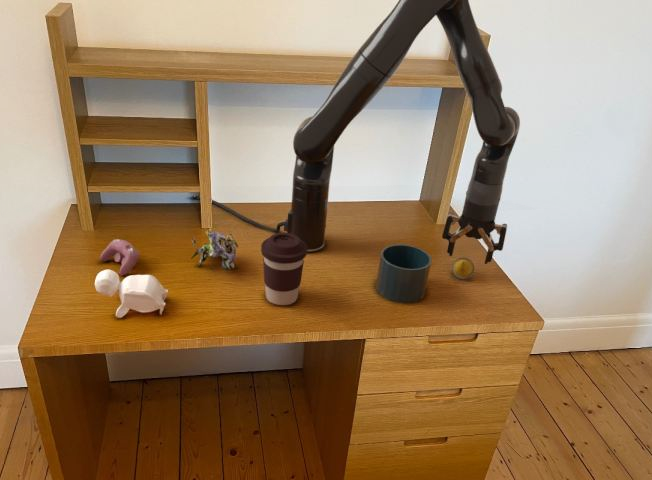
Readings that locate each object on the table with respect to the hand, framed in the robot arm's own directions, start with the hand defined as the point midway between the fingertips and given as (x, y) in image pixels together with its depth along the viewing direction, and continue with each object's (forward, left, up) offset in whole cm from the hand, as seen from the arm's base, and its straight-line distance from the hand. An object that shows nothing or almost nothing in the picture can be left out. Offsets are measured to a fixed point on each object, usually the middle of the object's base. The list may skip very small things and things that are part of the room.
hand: (468, 258), depth 143 cm
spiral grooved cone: (0, 0, -6) cm, 6 cm away
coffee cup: (-37, -28, -6) cm, 47 cm away
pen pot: (-13, -12, -6) cm, 19 cm away
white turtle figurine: (-65, -46, -6) cm, 80 cm away
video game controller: (-77, -33, -6) cm, 84 cm away
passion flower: (-57, -23, -6) cm, 62 cm away
